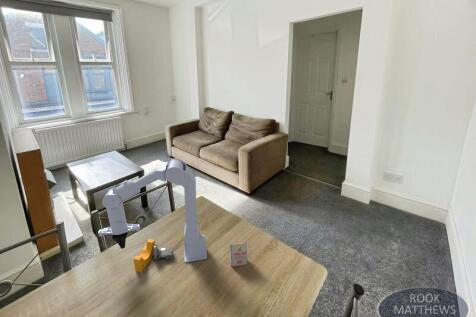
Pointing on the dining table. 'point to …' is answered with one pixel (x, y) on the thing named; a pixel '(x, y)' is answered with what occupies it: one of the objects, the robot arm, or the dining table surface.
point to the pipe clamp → (144, 256)
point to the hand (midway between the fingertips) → (123, 246)
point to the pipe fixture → (163, 253)
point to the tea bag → (238, 254)
